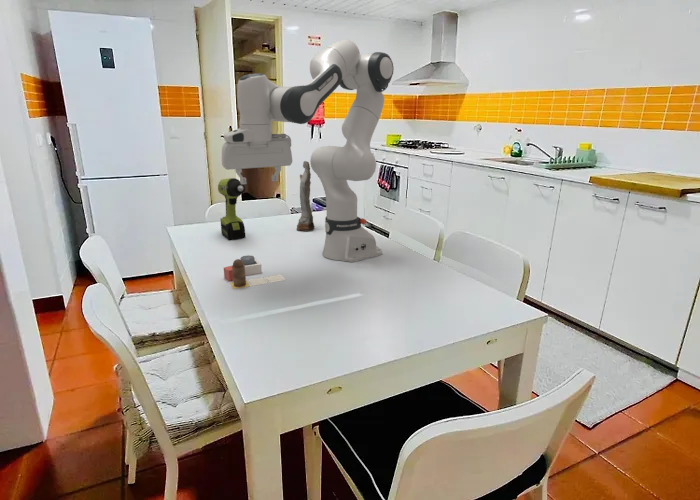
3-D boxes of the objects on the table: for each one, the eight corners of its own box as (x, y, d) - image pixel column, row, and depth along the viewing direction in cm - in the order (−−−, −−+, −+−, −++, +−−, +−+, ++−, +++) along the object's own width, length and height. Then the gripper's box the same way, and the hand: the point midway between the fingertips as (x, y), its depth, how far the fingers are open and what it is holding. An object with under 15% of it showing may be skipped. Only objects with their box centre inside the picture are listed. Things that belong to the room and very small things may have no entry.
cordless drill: (255, 245, 167) (251, 181, 158) (237, 248, 163) (232, 183, 155) (236, 230, 185) (231, 173, 177) (219, 233, 181) (214, 174, 173)
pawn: (244, 281, 129) (242, 256, 127) (247, 285, 126) (245, 260, 124) (232, 283, 128) (230, 258, 125) (234, 287, 125) (232, 262, 122)
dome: (253, 266, 140) (252, 254, 139) (256, 270, 137) (255, 258, 135) (239, 268, 138) (238, 256, 137) (242, 272, 135) (242, 260, 133)
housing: (256, 266, 142) (255, 257, 141) (261, 273, 136) (261, 264, 135) (235, 269, 139) (234, 260, 138) (239, 276, 133) (239, 267, 132)
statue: (300, 226, 193) (298, 160, 183) (316, 227, 192) (315, 160, 182) (295, 231, 186) (293, 162, 176) (311, 232, 185) (310, 162, 175)
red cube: (234, 275, 134) (233, 265, 133) (240, 278, 132) (239, 268, 130) (224, 278, 132) (223, 267, 131) (229, 281, 129) (228, 270, 128)
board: (270, 264, 146) (270, 261, 146) (289, 286, 129) (289, 282, 129) (220, 272, 139) (220, 269, 138) (233, 296, 122) (233, 292, 122)
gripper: (287, 132, 128) (289, 178, 133) (218, 134, 119) (222, 183, 124) (294, 134, 123) (296, 181, 127) (222, 136, 114) (227, 187, 119)
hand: (259, 182), depth 126 cm, fingers open, 8 cm apart
